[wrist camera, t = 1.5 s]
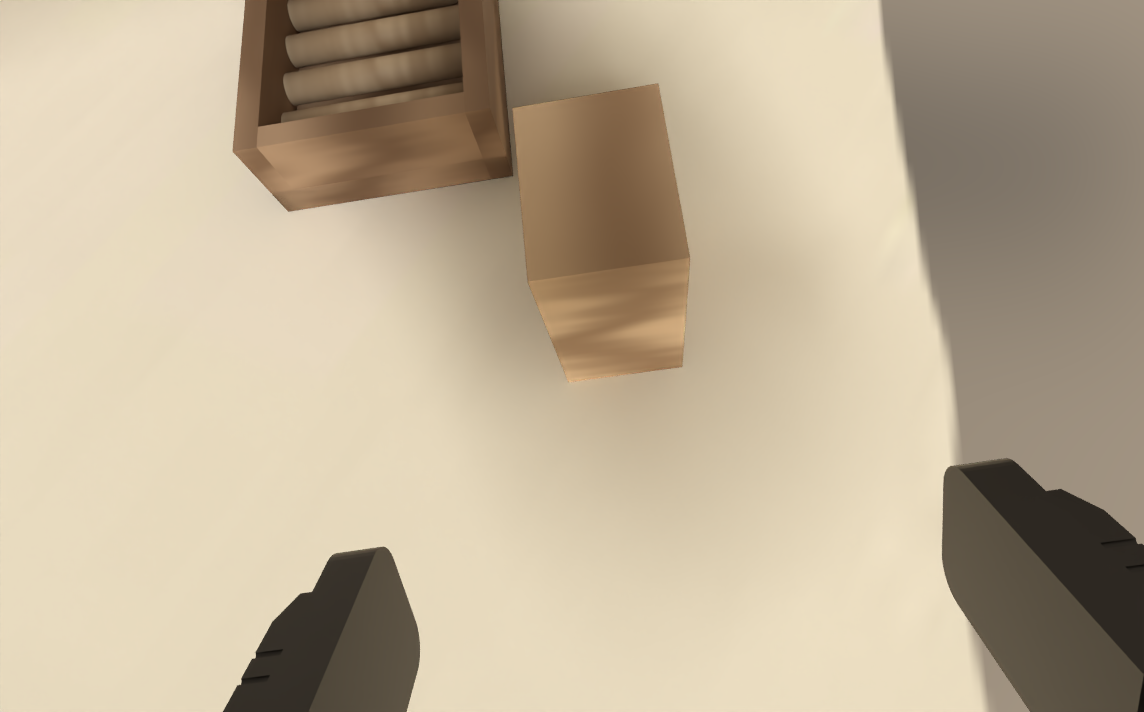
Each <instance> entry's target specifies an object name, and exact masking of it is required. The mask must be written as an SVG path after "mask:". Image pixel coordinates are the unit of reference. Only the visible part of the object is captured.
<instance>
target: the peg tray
mask: <svg viewBox="0 0 1144 712" xmlns="http://www.w3.org/2000/svg"><path fill="white" fill-rule="evenodd" d="M233 152H234V153H235V154H236V156H237V157H238V158H239V159H240V160H241V161H242V162H243V163H244V164H245V165H246V166H247V167H248V169H249V170H250V171H251V172H252V173H253V174H254V175H255V176H256V177H257V178H258V179H259V180H260V181H261V183H262V184H263V185H264V186H265V187H266V188H267V189H268V190H269V191H270V192H271V193H272V194H273V196H274V197H275V198H276V199H277V200H278V201H279V202H280V203H281V204H282V205H283V206H284V207H285V209H286V210H287V211H288V212H289V211H295V210H301V209H307V208H314V207H320V206H326V205H333V204H339V203H345V202H351V201H358V200H364V199H370V198H376V197H383V196H389V195H395V194H401V193H408V192H414V191H420V190H426V189H433V188H439V187H445V186H451V185H458V184H464V183H470V182H476V181H483V180H489V179H495V178H502V177H508V176H513V170H512V158H511V146H510V135H509V123H508V111H507V100H506V88H505V76H504V64H503V53H502V41H501V29H500V18H499V6H498V0H245V11H244V23H243V34H242V46H241V58H240V70H239V82H238V94H237V106H236V118H235V129H234V141H233Z"/></svg>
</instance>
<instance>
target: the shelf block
mask: <svg viewBox="0 0 1144 712" xmlns="http://www.w3.org/2000/svg"><path fill="white" fill-rule="evenodd" d="M512 109H513V121H514V132H515V143H516V154H517V166H518V177H519V188H520V200H521V211H522V222H523V234H524V245H525V256H526V268H527V279H528V284H529V286H530V289H531V291H532V293H533V296H534V298H535V301H536V303H537V306H538V308H539V311H540V313H541V316H542V318H543V321H544V323H545V325H546V328H547V330H548V333H549V335H550V338H551V340H552V343H553V345H554V348H555V350H556V353H557V355H558V358H559V360H560V362H561V365H562V367H563V370H564V372H565V375H566V377H567V380H568V382H574V381H581V380H589V379H596V378H603V377H611V376H618V375H625V374H633V373H640V372H647V371H655V370H662V369H669V368H677V367H682V362H683V348H684V334H685V321H686V307H687V293H688V279H689V265H690V255H689V249H688V244H687V238H686V233H685V228H684V222H683V217H682V211H681V206H680V200H679V195H678V189H677V184H676V178H675V173H674V167H673V162H672V156H671V151H670V145H669V140H668V134H667V129H666V123H665V118H664V113H663V107H662V102H661V96H660V91H659V85H658V84H652V85H646V86H640V87H634V88H628V89H622V90H616V91H610V92H604V93H598V94H592V95H586V96H581V97H575V98H569V99H563V100H557V101H551V102H545V103H539V104H533V105H527V106H521V107H515V108H512Z"/></svg>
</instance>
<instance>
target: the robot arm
mask: <svg viewBox="0 0 1144 712" xmlns="http://www.w3.org/2000/svg"><path fill="white" fill-rule="evenodd" d="M942 560H943V567H944V572H945V576H946V579H947V582H948V585H949V588H950V590H951V593H952V595H953V597H954V599H955V600H956V602H957V604H958V605H959V607H960V608H961V610H962V611H963V613H964V614H965V616H966V617H967V619H968V620H969V622H970V623H971V625H972V626H973V628H974V629H975V631H976V632H977V633H978V635H979V636H980V638H981V639H982V641H983V642H984V644H985V645H986V647H987V648H988V650H989V651H990V653H991V654H992V656H993V657H994V659H995V660H996V662H997V663H998V665H999V666H1000V668H1001V669H1002V671H1003V672H1004V673H1005V675H1006V677H1007V678H1008V679H1009V681H1010V682H1011V684H1012V685H1013V687H1014V688H1015V690H1016V691H1017V693H1018V694H1019V696H1020V697H1021V699H1022V700H1023V702H1024V703H1025V705H1026V706H1027V708H1028V709H1029V711H1030V712H1144V545H1143V544H1137V542H1136V538H1135V537H1134V536H1133V535H1132V534H1130V533H1129V532H1128V531H1127V530H1126V529H1125V528H1124V527H1123V526H1121V525H1120V524H1119V523H1118V522H1117V521H1116V520H1114V519H1113V518H1112V517H1111V516H1110V515H1109V514H1108V513H1107V512H1106V511H1104V510H1103V509H1100V508H1099V507H1096V506H1095V505H1092V504H1090V503H1088V502H1086V501H1084V500H1082V499H1080V498H1078V497H1076V496H1074V495H1072V494H1070V493H1068V492H1066V491H1064V490H1062V489H1058V490H1051V491H1045V490H1044V489H1043V488H1042V487H1041V486H1040V485H1039V484H1038V483H1037V482H1036V481H1035V480H1034V479H1033V478H1031V476H1030V475H1029V474H1027V473H1026V472H1025V471H1024V470H1023V469H1022V468H1021V467H1020V466H1019V465H1018V464H1017V463H1016V462H1014V461H1013V460H1011V459H1008V458H1005V459H997V460H990V461H983V462H977V463H969V464H963V465H956V466H950V467H948V468H947V470H946V472H945V475H944V484H943V533H942ZM419 659H420V641H419V633H418V628H417V624H416V621H415V618H414V615H413V612H412V610H411V607H410V604H409V601H408V598H407V596H406V593H405V590H404V587H403V584H402V581H401V579H400V576H399V573H398V570H397V567H396V565H395V562H394V559H393V557H392V554H391V553H390V551H389V550H388V549H387V548H386V547H377V548H370V549H363V550H357V551H350V552H343V553H336V554H334V555H332V556H331V557H330V559H329V560H328V562H327V564H326V566H325V568H324V570H323V572H322V574H321V576H320V578H319V580H318V582H317V584H316V586H315V588H314V589H313V591H312V592H309V593H302V594H300V595H299V596H298V597H297V598H296V599H295V600H294V601H293V602H292V603H291V604H290V605H289V606H288V607H287V608H286V609H285V610H284V611H283V612H282V613H281V614H280V615H279V616H278V617H277V618H276V619H275V620H274V621H273V622H272V624H271V626H270V627H269V629H268V631H267V633H266V635H265V636H264V638H263V640H262V642H261V644H260V646H259V647H258V649H257V651H256V658H255V659H252V660H251V662H250V664H249V665H248V667H247V669H246V671H245V673H244V675H243V676H242V678H241V680H242V683H241V685H237V687H236V689H235V691H234V693H233V695H232V696H231V698H230V700H229V702H228V704H227V705H226V707H225V709H224V711H223V712H406V711H407V708H408V704H409V700H410V697H411V693H412V689H413V686H414V682H415V678H416V675H417V671H418V667H419Z"/></svg>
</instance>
